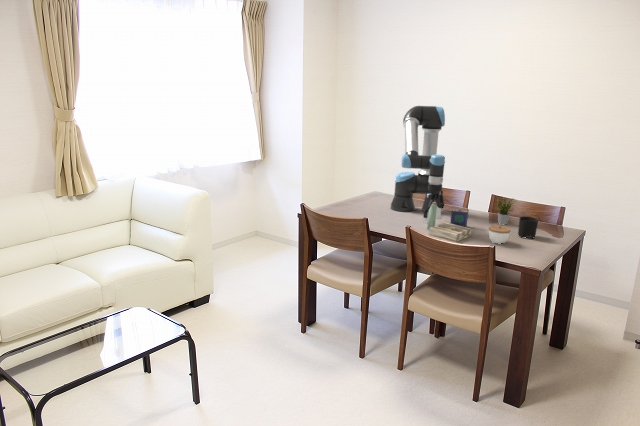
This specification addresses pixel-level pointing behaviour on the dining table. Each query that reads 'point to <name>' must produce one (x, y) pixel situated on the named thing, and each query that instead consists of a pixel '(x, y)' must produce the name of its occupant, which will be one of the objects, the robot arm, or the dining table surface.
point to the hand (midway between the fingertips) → (431, 221)
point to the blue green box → (459, 217)
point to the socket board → (450, 232)
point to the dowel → (432, 216)
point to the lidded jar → (499, 233)
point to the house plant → (504, 211)
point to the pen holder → (527, 227)
